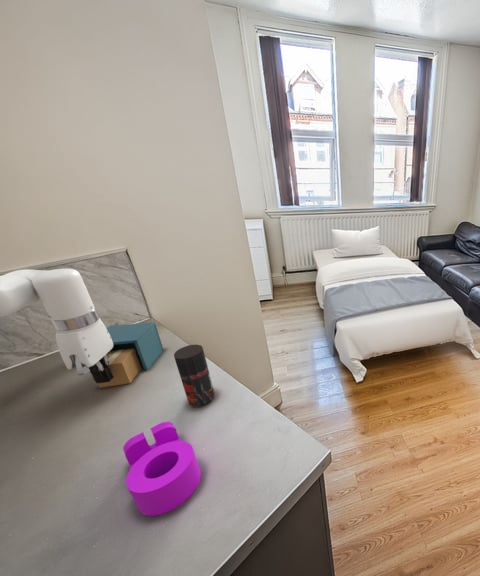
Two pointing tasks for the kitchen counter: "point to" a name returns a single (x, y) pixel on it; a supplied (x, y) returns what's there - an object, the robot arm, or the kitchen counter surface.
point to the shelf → (138, 341)
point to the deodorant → (194, 375)
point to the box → (122, 367)
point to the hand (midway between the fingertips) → (105, 380)
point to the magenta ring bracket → (161, 470)
